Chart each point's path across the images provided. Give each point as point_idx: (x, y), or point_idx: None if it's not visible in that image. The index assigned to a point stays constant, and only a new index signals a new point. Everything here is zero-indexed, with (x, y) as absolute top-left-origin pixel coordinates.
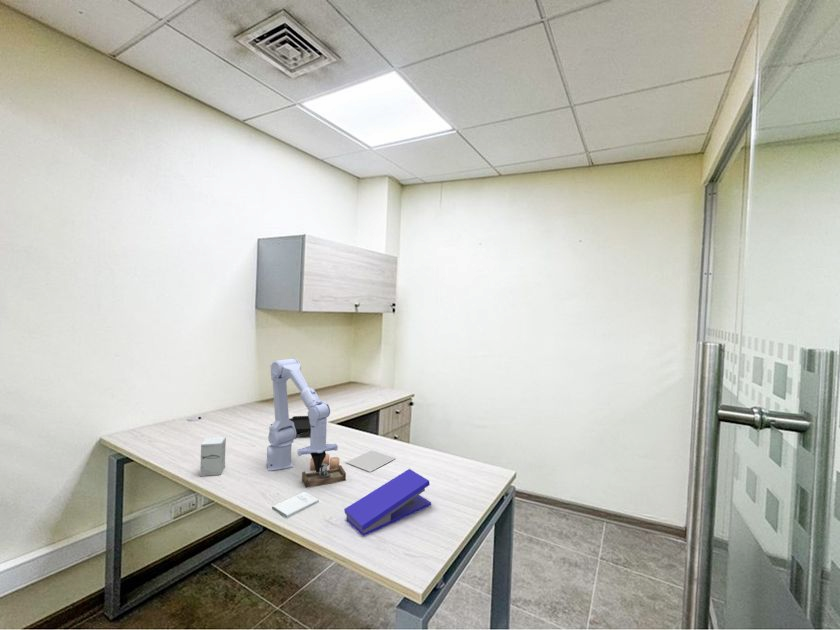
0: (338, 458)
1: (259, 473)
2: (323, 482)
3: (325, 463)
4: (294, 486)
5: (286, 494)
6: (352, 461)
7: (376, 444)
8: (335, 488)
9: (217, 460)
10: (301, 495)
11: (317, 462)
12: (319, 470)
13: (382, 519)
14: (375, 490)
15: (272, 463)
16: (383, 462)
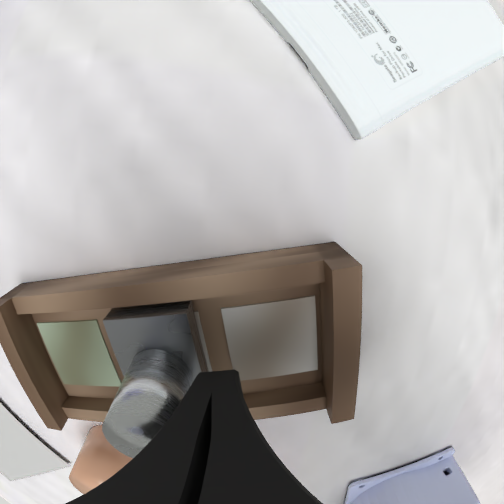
0: (78, 487)
1: (481, 428)
2: (168, 270)
3: (127, 454)
4: (404, 289)
5: (462, 183)
6: (42, 457)
7: (17, 497)
8: (79, 171)
9: None
10: (382, 78)
11: (220, 460)
12: (196, 381)
13: None
14: None
15: (447, 478)
16: None
